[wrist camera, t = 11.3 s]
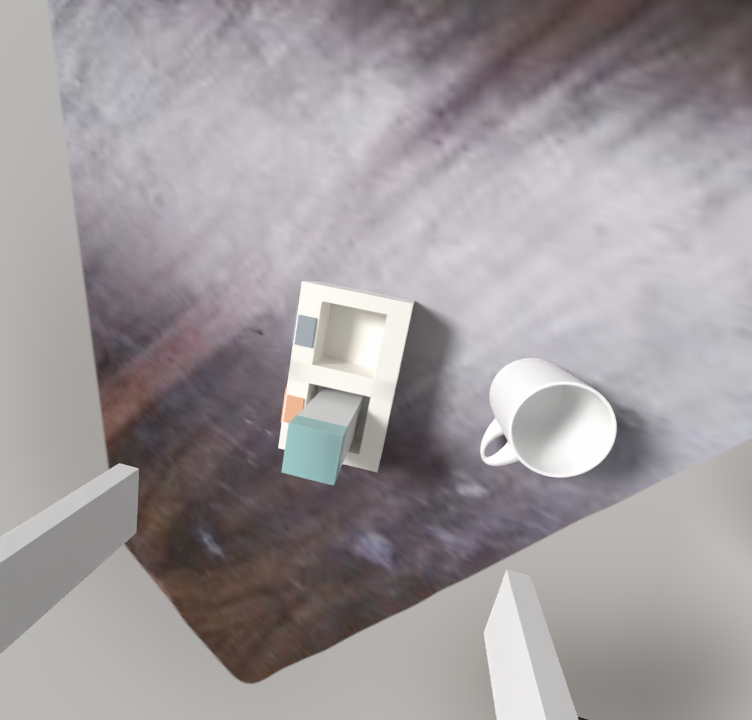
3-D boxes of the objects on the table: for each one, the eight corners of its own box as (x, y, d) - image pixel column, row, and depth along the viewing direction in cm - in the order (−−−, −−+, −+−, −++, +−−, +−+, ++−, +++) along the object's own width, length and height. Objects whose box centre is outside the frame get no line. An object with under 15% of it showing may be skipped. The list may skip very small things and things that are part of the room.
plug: (326, 383, 42) (288, 422, 30) (365, 392, 41) (342, 435, 30) (320, 420, 43) (281, 472, 31) (358, 429, 43) (333, 485, 31)
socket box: (316, 280, 42) (298, 280, 36) (414, 300, 41) (413, 303, 35) (294, 426, 46) (274, 448, 40) (383, 447, 45) (377, 473, 39)
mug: (449, 409, 43) (457, 450, 32) (533, 340, 40) (571, 360, 30) (498, 461, 43) (522, 518, 33) (584, 396, 40) (640, 436, 30)
